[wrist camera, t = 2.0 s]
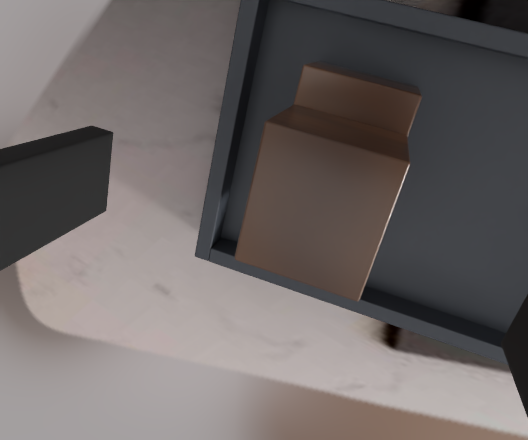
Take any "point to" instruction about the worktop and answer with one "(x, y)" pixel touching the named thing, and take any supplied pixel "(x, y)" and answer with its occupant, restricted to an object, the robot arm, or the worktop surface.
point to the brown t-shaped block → (329, 178)
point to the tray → (420, 151)
